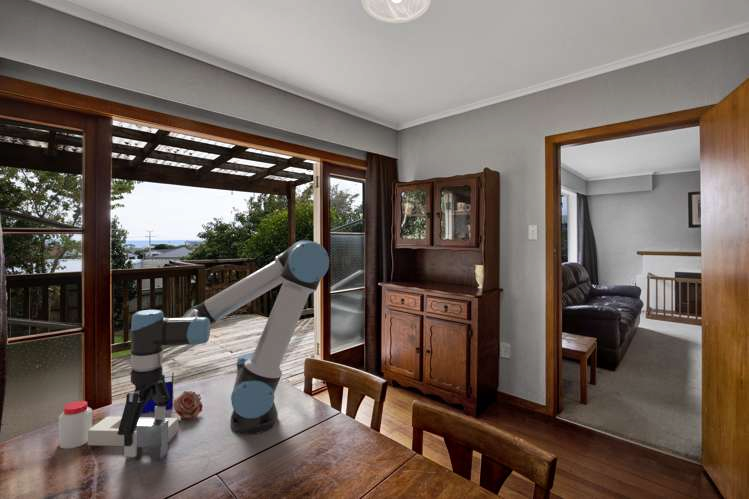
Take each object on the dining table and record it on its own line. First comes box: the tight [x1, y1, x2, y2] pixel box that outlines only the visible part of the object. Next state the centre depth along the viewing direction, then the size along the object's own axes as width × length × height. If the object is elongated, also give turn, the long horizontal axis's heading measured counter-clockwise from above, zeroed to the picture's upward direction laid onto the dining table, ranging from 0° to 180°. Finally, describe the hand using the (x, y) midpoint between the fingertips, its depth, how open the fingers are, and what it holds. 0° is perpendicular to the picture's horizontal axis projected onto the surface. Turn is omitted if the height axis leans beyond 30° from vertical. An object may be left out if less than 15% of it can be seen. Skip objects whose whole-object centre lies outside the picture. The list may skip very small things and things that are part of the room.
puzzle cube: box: [141, 371, 174, 415], centre depth 132 cm, size 10×10×10 cm
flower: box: [170, 390, 203, 421], centre depth 125 cm, size 10×9×8 cm
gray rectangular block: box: [125, 419, 168, 462], centre depth 103 cm, size 10×4×10 cm, turn 91°
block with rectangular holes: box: [87, 416, 179, 447], centre depth 112 cm, size 22×8×4 cm, turn 91°
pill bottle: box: [58, 400, 93, 449], centre depth 109 cm, size 8×8×11 cm
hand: (146, 441), depth 103 cm, fingers open, 13 cm apart
